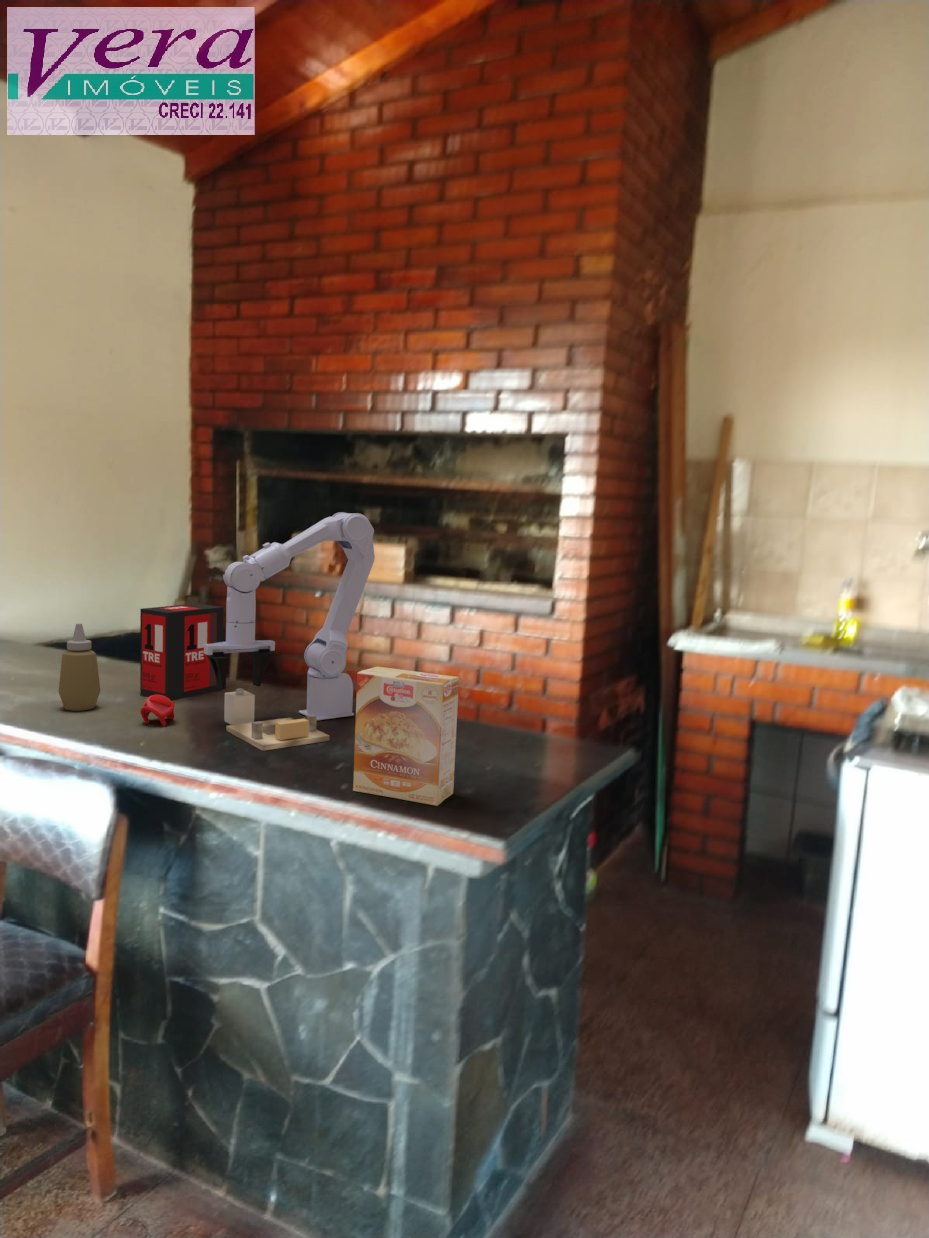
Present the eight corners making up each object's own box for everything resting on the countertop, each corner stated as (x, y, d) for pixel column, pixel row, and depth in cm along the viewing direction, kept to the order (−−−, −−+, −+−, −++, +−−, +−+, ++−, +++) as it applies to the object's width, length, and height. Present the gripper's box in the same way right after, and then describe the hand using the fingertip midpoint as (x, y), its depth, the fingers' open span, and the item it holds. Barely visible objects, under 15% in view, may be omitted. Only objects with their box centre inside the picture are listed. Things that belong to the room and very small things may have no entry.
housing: (244, 718, 178) (245, 685, 177) (254, 723, 175) (254, 690, 174) (224, 721, 175) (224, 687, 174) (233, 726, 172) (234, 692, 171)
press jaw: (303, 733, 164) (303, 718, 164) (308, 736, 163) (309, 720, 162) (275, 737, 160) (275, 722, 160) (280, 740, 159) (280, 724, 159)
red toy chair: (162, 714, 166) (181, 693, 170) (136, 701, 167) (155, 681, 171) (164, 738, 171) (182, 718, 176) (138, 726, 172) (157, 706, 177)
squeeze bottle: (49, 709, 178) (48, 624, 175) (80, 702, 185) (79, 620, 183) (79, 714, 175) (78, 628, 172) (109, 707, 182) (108, 623, 180)
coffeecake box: (351, 791, 136) (355, 671, 134) (371, 779, 143) (376, 665, 140) (437, 807, 131) (443, 683, 129) (454, 793, 138) (460, 675, 135)
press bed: (290, 722, 177) (290, 703, 176) (329, 740, 165) (329, 720, 164) (226, 730, 168) (226, 710, 168) (262, 750, 156) (263, 729, 155)
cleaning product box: (196, 684, 208) (196, 603, 205) (222, 689, 204) (223, 607, 201) (140, 695, 194) (140, 608, 191) (167, 701, 189) (167, 612, 187)
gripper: (264, 617, 180) (263, 680, 182) (198, 620, 171) (197, 686, 173) (280, 621, 175) (278, 686, 176) (212, 624, 165) (211, 693, 167)
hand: (239, 687), depth 174 cm, fingers open, 7 cm apart
